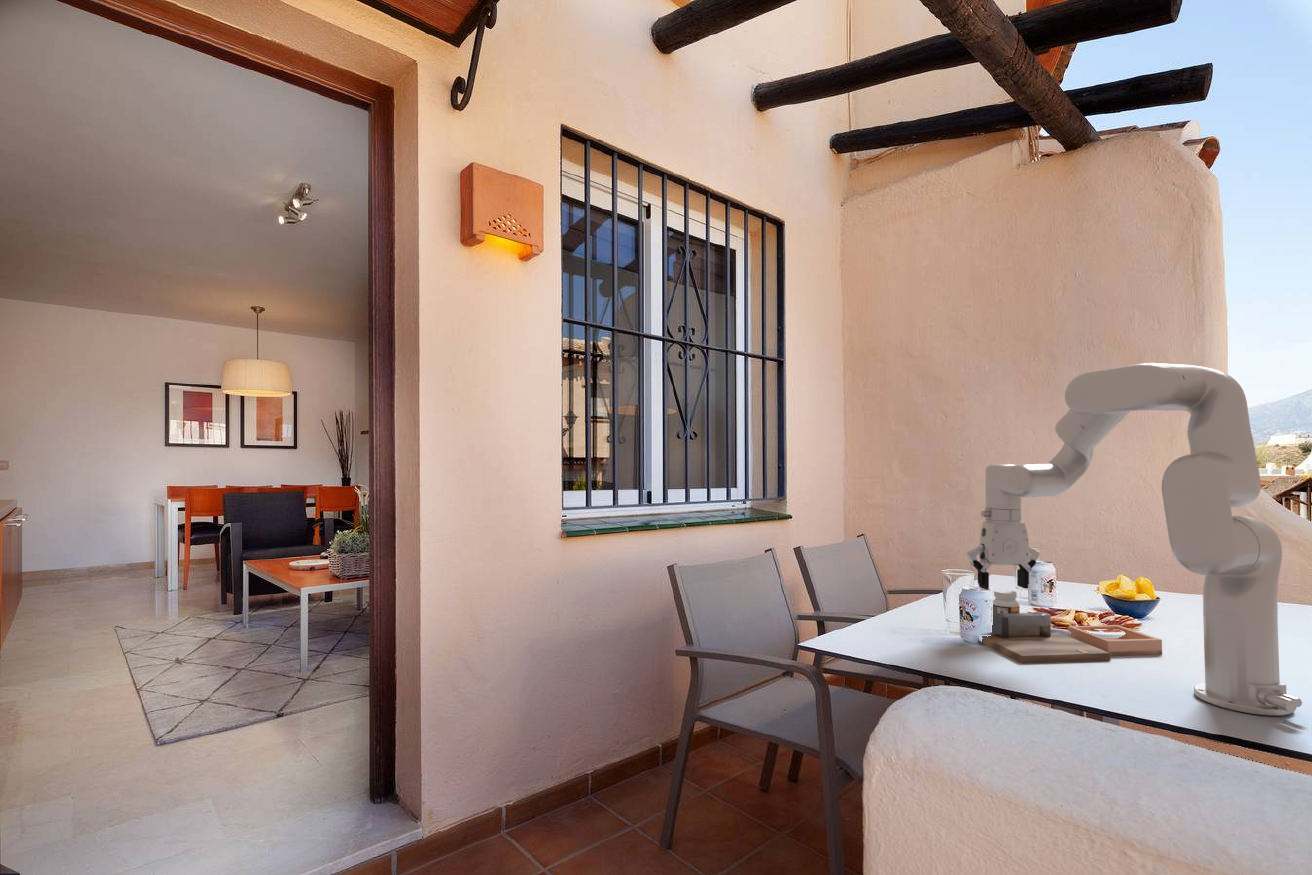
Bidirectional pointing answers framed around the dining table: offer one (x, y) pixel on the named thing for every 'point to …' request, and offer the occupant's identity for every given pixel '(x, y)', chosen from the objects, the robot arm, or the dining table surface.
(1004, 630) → the grey block
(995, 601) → the pill bottle
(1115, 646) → the tray
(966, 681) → the dining table surface
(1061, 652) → the cutting board
